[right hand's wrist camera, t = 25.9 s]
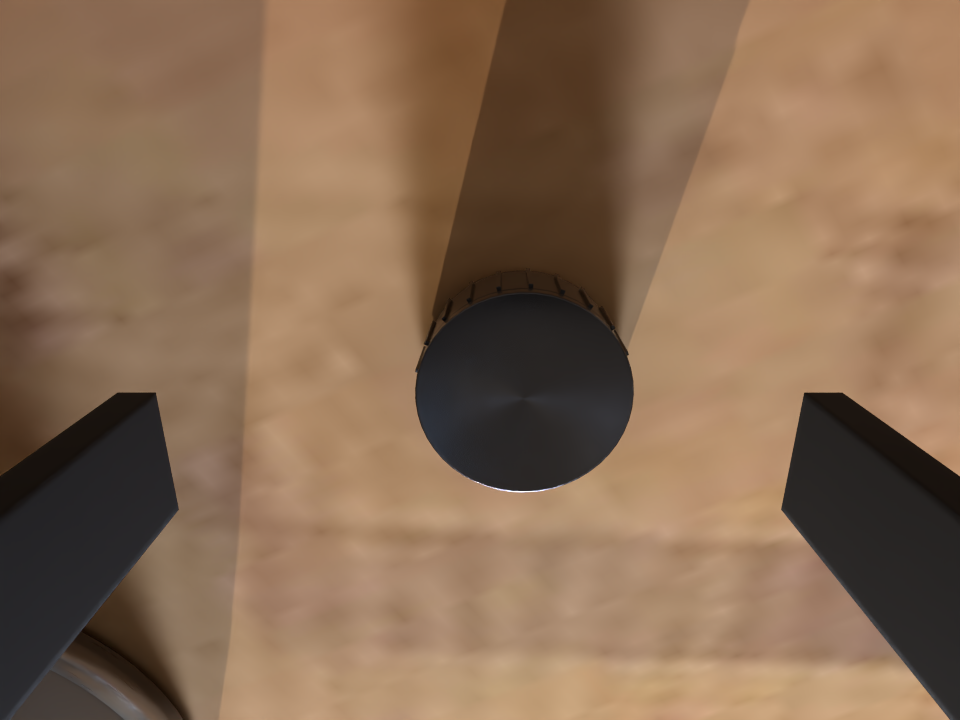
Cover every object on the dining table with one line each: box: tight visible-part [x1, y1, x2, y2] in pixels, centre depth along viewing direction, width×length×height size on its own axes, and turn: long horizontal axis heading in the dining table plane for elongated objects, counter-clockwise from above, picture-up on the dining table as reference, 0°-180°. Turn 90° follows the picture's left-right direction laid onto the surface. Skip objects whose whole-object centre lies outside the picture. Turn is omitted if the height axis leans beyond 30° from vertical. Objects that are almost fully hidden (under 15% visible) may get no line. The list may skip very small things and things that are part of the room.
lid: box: [415, 269, 634, 492], centre depth 16 cm, size 5×5×2 cm
